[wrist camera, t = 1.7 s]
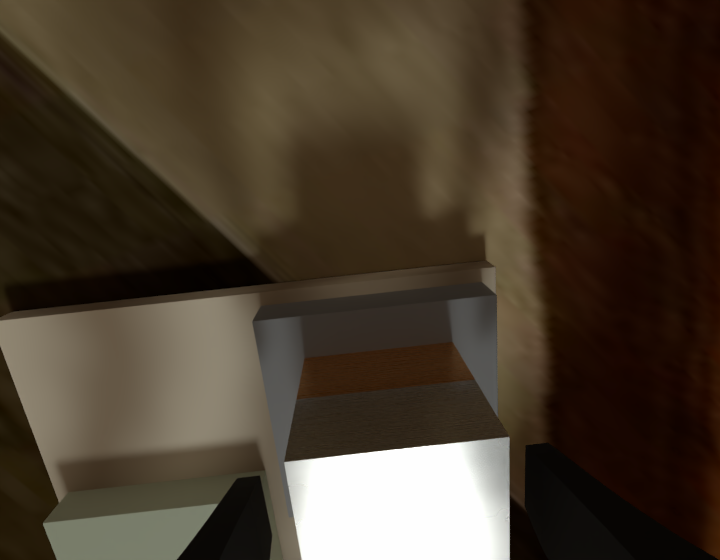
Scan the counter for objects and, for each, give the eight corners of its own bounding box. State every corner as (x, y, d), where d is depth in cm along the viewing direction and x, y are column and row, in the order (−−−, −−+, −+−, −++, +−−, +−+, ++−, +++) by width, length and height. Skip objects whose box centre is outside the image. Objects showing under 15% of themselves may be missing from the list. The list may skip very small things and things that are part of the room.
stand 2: (482, 281, 15) (496, 294, 14) (485, 465, 17) (498, 493, 16) (260, 305, 15) (252, 321, 14) (293, 487, 17) (288, 517, 16)
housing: (452, 341, 14) (509, 436, 9) (457, 465, 15) (509, 603, 11) (304, 358, 14) (284, 461, 9) (323, 480, 15) (313, 626, 11)
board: (486, 260, 16) (495, 267, 15) (492, 608, 21) (499, 629, 20) (12, 311, 16) (-9, 321, 15) (133, 649, 21) (123, 673, 20)
